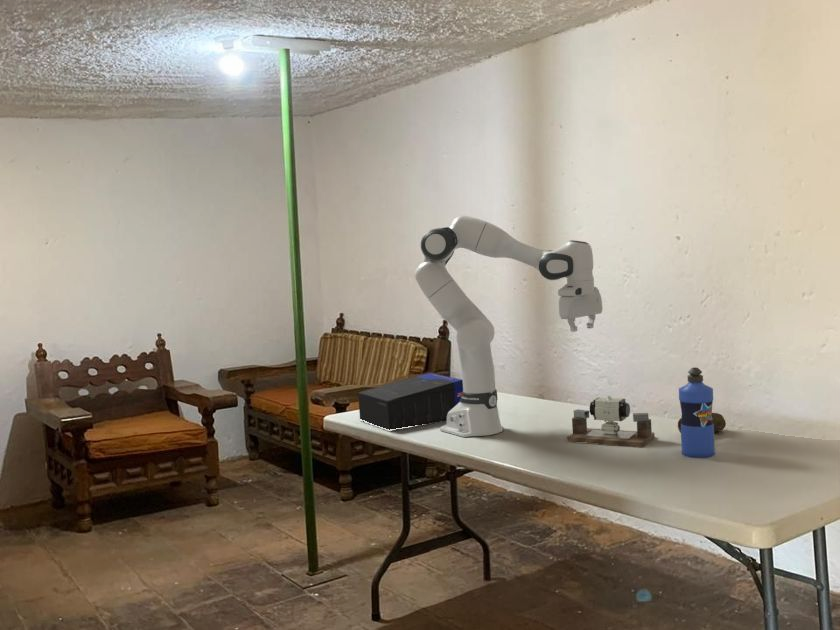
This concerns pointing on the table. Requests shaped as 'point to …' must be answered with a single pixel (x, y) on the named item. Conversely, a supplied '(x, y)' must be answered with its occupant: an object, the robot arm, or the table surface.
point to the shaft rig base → (638, 440)
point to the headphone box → (410, 401)
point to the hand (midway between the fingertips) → (582, 329)
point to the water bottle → (696, 417)
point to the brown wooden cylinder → (717, 421)
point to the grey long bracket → (619, 435)
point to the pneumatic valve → (610, 413)
